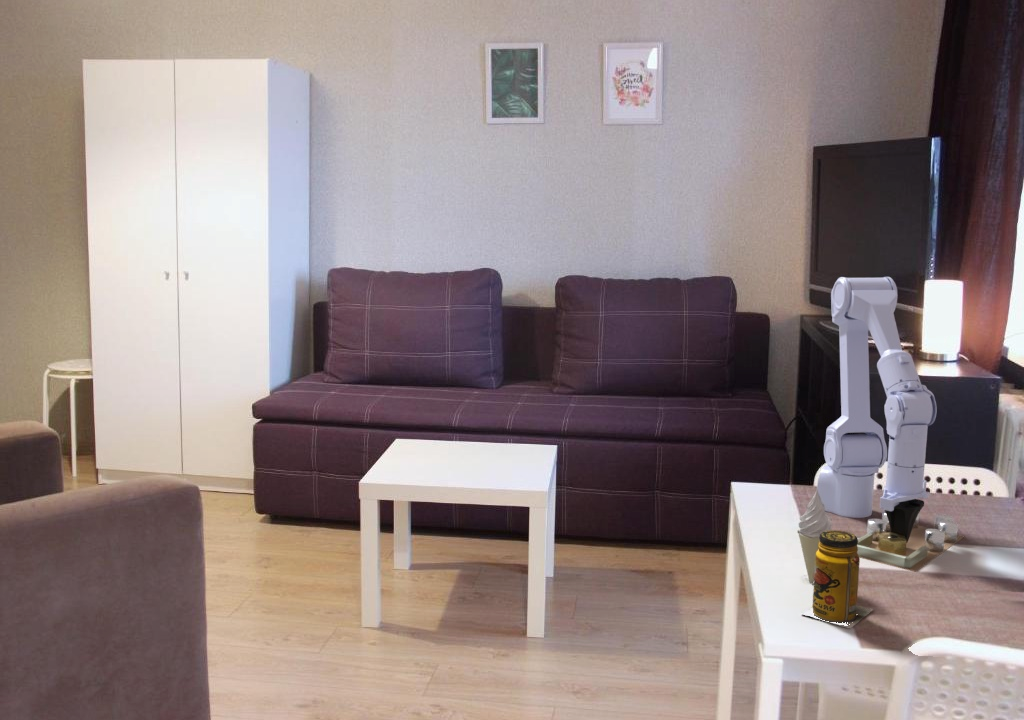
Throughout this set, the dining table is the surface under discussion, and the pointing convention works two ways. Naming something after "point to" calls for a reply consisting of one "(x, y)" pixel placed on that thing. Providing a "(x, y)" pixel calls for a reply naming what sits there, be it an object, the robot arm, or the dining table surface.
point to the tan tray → (909, 561)
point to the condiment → (837, 579)
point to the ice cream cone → (812, 532)
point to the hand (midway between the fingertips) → (899, 542)
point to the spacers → (933, 537)
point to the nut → (892, 543)
